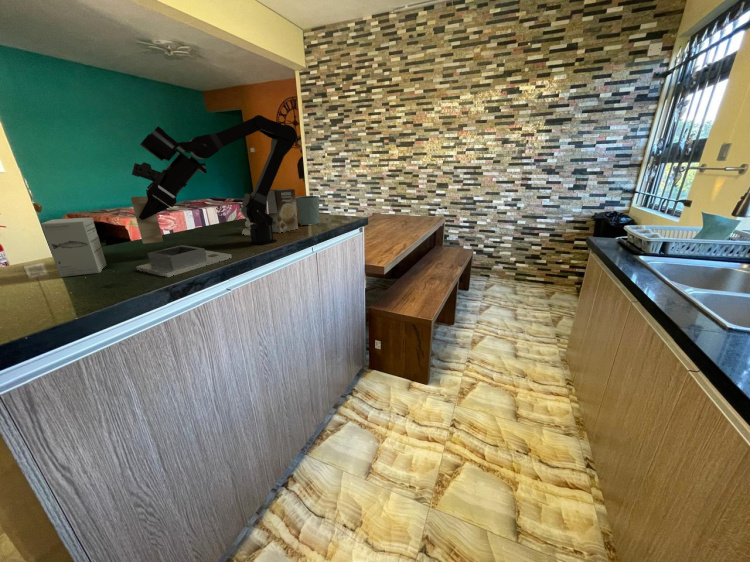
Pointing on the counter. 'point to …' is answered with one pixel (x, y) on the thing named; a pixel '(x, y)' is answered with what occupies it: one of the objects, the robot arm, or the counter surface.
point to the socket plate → (180, 260)
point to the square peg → (146, 222)
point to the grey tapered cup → (308, 209)
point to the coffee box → (282, 209)
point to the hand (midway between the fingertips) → (140, 217)
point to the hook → (247, 224)
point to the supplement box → (74, 246)
